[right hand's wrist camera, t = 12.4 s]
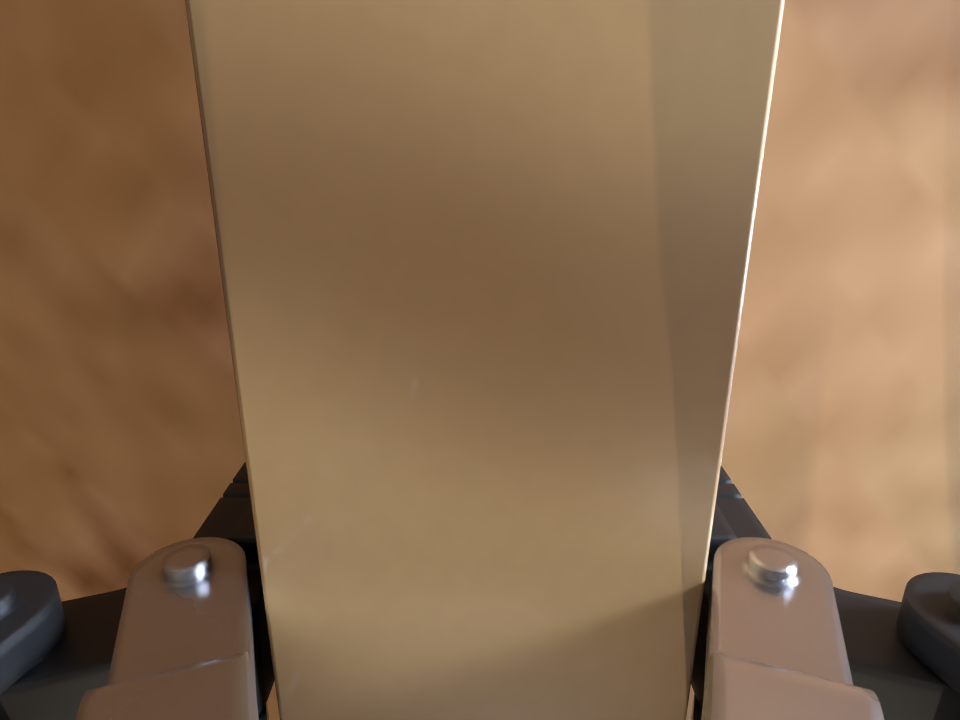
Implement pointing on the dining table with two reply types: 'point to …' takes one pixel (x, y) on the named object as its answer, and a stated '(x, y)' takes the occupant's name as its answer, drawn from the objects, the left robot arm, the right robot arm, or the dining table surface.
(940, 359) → the dining table surface
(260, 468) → the bar
